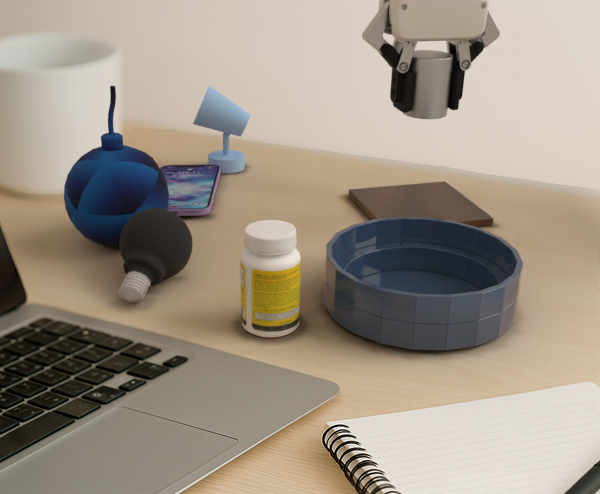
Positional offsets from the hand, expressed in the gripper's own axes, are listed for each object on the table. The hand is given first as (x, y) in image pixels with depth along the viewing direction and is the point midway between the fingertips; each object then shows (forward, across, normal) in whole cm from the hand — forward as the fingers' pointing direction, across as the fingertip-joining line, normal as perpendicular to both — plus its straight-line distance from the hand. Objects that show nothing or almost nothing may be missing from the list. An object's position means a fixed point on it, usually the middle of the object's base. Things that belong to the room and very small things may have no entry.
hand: (425, 106), depth 86 cm
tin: (+1, 0, 0) cm, 1 cm away
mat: (+11, 0, 0) cm, 11 cm away
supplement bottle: (+12, +22, +21) cm, 33 cm away
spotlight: (+12, +18, -19) cm, 29 cm away
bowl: (+11, +9, +21) cm, 26 cm away
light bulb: (+12, +30, +11) cm, 34 cm away
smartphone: (+12, +24, -11) cm, 29 cm away
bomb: (+12, +32, +1) cm, 34 cm away
